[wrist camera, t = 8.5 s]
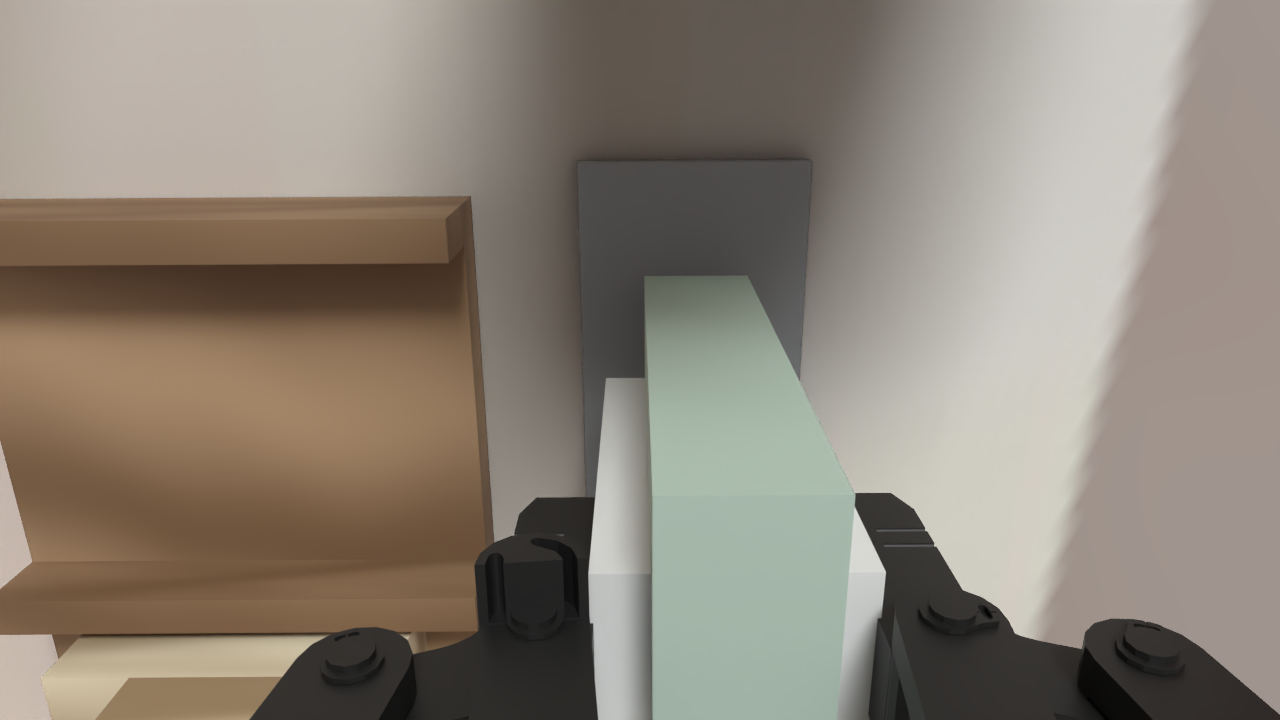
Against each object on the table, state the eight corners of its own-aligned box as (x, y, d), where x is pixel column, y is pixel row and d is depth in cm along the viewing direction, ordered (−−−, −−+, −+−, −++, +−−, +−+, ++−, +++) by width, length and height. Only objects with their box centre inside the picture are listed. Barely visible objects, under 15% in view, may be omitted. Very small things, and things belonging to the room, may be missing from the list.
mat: (578, 160, 18) (577, 163, 17) (808, 159, 18) (811, 161, 17) (590, 589, 21) (589, 599, 21) (784, 588, 21) (786, 598, 21)
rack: (-25, 199, 18) (-126, 222, 16) (470, 196, 18) (445, 218, 16) (106, 720, 22) (43, 800, 20) (505, 717, 22) (490, 796, 20)
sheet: (644, 276, 17) (652, 496, 9) (747, 275, 17) (855, 494, 9) (645, 545, 19) (652, 939, 11) (737, 545, 19) (818, 938, 11)
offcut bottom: (110, 603, 20) (40, 678, 18) (422, 601, 20) (394, 675, 18) (136, 712, 21) (73, 796, 19) (433, 710, 21) (408, 794, 19)
